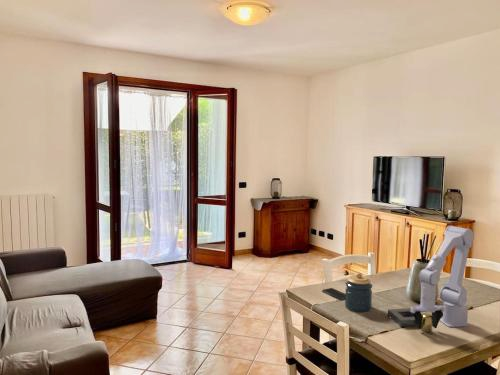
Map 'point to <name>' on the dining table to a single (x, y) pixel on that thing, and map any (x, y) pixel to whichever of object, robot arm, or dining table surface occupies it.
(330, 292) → the phone
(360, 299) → the canister
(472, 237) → the robot arm
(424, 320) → the piston
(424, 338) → the dining table surface
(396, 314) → the grey square socket block
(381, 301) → the dining table surface
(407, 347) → the dining table surface
